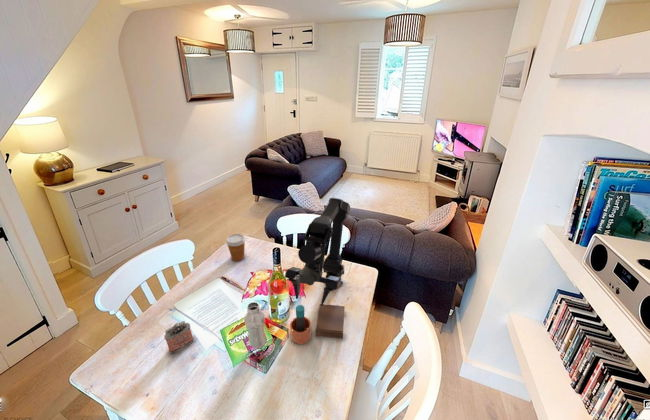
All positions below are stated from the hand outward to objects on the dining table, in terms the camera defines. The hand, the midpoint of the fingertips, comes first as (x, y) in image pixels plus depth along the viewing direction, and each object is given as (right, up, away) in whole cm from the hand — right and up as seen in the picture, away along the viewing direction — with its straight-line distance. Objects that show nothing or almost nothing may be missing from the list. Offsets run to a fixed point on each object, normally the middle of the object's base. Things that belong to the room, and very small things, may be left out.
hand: (309, 301), depth 93 cm
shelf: (+8, -12, +11) cm, 18 cm away
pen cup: (-4, -14, +6) cm, 16 cm away
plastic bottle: (-18, -17, +1) cm, 24 cm away
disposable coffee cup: (-40, +7, +49) cm, 64 cm away
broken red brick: (-45, -16, +1) cm, 48 cm away
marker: (-4, -14, +6) cm, 16 cm away
